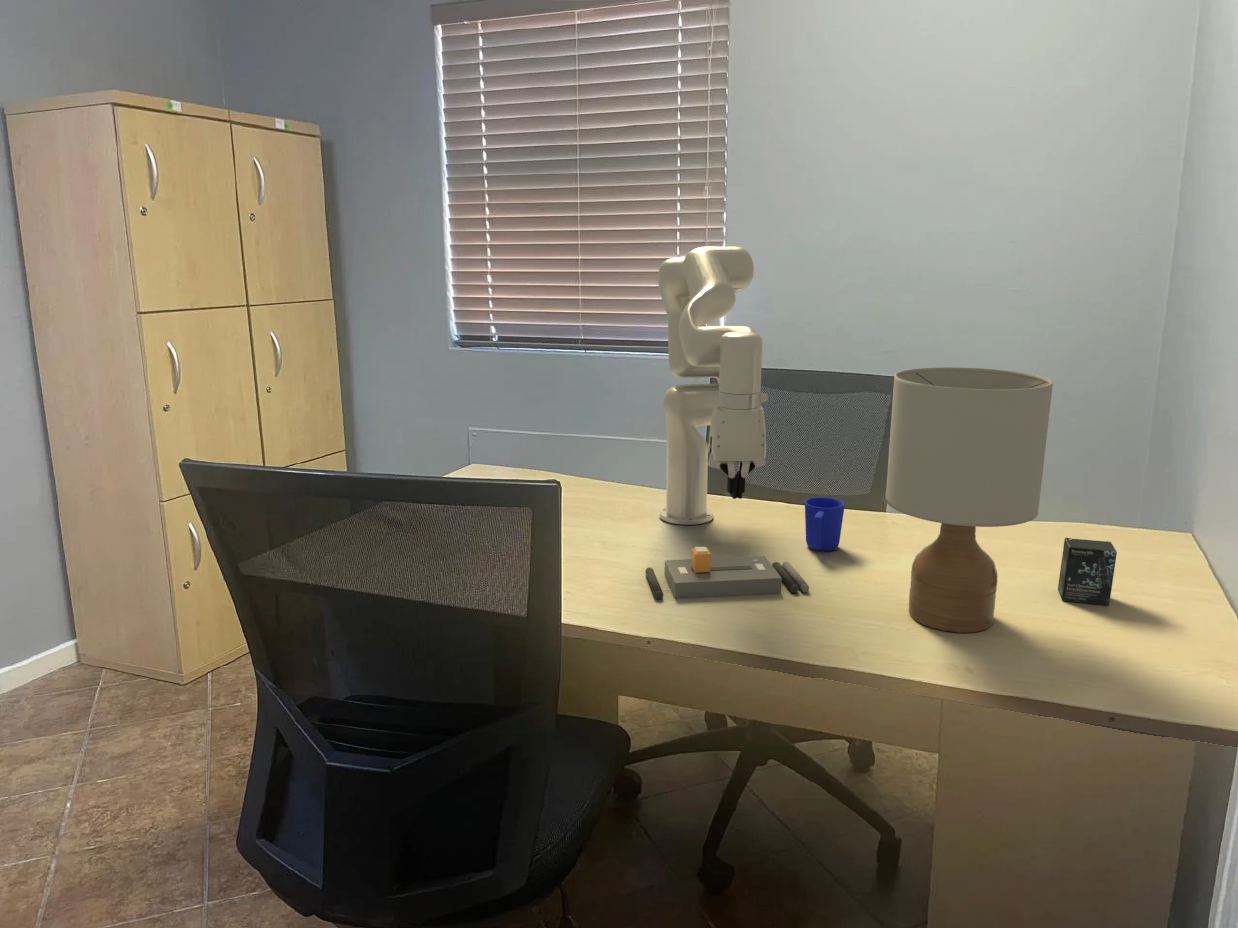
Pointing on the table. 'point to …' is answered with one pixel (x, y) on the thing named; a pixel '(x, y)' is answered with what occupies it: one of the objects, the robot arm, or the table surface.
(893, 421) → the lamp
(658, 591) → the dark grey rounded rod
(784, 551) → the table surface
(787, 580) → the grey capsule
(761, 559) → the slider switch box
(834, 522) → the mug
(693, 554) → the block
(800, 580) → the light grey rod
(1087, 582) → the box
